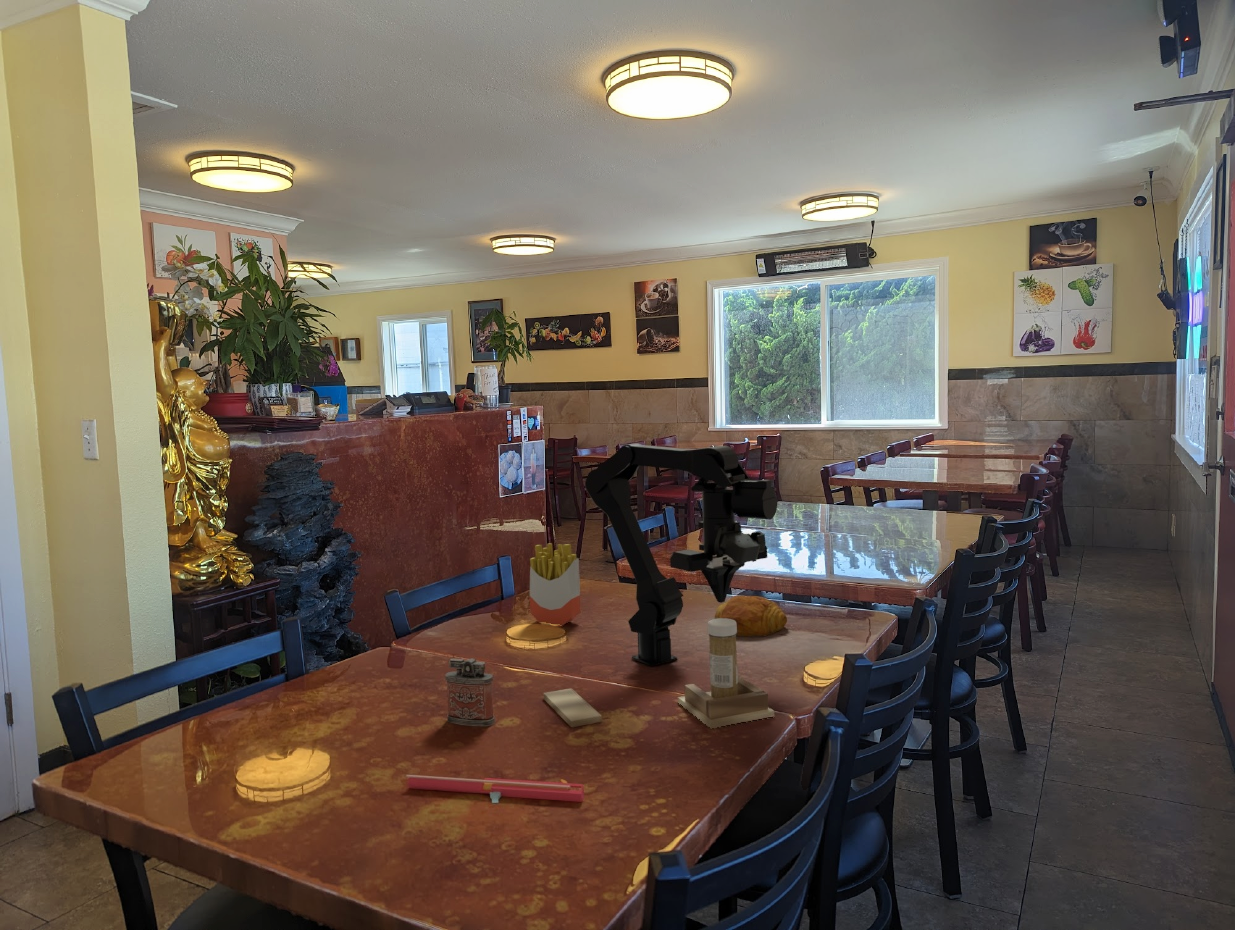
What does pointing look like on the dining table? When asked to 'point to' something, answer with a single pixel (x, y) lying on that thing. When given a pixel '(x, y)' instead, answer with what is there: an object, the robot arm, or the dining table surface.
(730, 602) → the croissant
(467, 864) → the dining table surface
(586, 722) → the loose plank
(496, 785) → the red bar
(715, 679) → the sprinkles bottle
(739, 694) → the beige wooden u-shaped tray
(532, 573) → the french fries container
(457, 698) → the lighter
